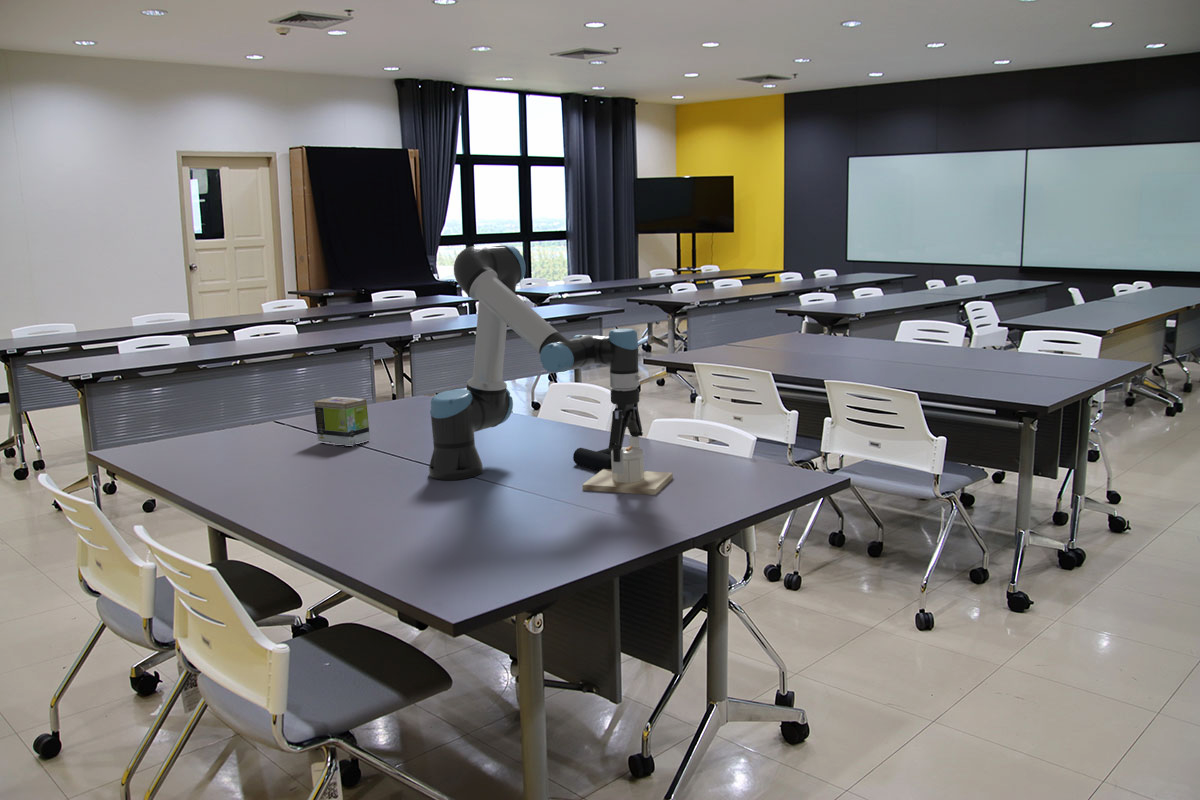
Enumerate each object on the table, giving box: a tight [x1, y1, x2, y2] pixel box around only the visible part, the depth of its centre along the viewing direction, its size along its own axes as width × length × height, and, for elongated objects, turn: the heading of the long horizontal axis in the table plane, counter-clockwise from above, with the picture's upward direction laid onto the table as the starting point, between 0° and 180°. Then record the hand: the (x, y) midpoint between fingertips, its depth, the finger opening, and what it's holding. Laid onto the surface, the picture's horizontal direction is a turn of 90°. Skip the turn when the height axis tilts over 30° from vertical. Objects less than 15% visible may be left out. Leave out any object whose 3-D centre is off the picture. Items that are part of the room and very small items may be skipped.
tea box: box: [313, 396, 371, 445], centre depth 316 cm, size 15×10×15 cm, turn 58°
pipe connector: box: [572, 447, 612, 472], centre depth 274 cm, size 12×5×15 cm
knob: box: [611, 446, 645, 483], centre depth 254 cm, size 8×8×8 cm
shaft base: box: [582, 469, 674, 496], centre depth 254 cm, size 20×16×6 cm
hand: (626, 466), depth 254 cm, fingers open, 13 cm apart
